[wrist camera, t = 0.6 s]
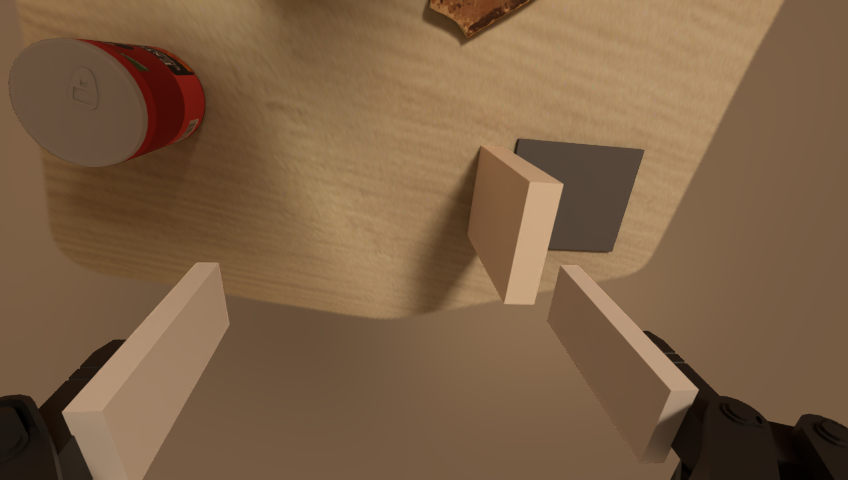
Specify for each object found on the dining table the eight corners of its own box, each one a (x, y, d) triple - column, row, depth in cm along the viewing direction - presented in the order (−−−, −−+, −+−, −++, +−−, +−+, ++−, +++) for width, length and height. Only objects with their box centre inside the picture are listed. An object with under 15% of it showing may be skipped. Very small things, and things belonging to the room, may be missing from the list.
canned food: (204, 53, 34) (132, 46, 24) (212, 145, 37) (151, 174, 27) (106, 39, 33) (-12, 27, 23) (123, 136, 36) (25, 162, 26)
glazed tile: (481, 145, 40) (529, 181, 27) (505, 147, 40) (565, 184, 27) (467, 235, 44) (504, 303, 31) (489, 236, 44) (535, 304, 31)
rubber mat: (518, 138, 40) (519, 139, 40) (642, 149, 42) (644, 150, 42) (497, 244, 45) (498, 246, 44) (610, 250, 47) (612, 251, 46)
